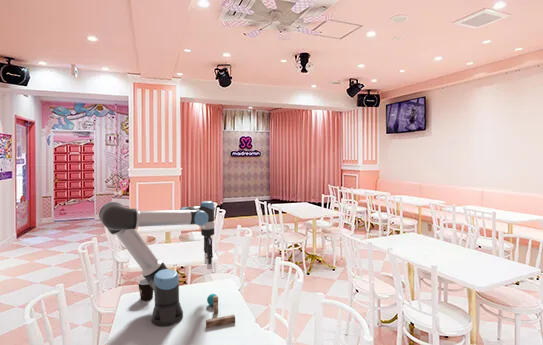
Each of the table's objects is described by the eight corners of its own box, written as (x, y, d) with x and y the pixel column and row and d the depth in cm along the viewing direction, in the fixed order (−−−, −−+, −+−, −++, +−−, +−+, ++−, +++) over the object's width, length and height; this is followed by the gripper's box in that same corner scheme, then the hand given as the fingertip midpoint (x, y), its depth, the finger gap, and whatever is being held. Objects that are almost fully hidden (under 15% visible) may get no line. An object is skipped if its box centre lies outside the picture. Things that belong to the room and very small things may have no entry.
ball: (208, 308, 171) (208, 297, 171) (206, 303, 177) (206, 292, 177) (219, 306, 173) (219, 295, 173) (217, 301, 179) (217, 291, 179)
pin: (214, 314, 165) (213, 298, 165) (213, 312, 167) (212, 296, 167) (218, 313, 166) (218, 297, 166) (217, 311, 168) (217, 295, 168)
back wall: (206, 328, 152) (206, 322, 152) (205, 325, 154) (205, 319, 154) (235, 322, 157) (235, 316, 157) (234, 320, 159) (234, 314, 159)
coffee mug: (138, 296, 186) (138, 279, 185) (154, 294, 189) (154, 277, 188) (138, 305, 175) (137, 287, 174) (155, 302, 178) (154, 285, 177)
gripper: (217, 231, 176) (218, 271, 178) (211, 223, 196) (211, 259, 197) (204, 232, 174) (204, 273, 175) (198, 224, 193) (199, 261, 195)
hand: (208, 266), depth 186 cm, fingers open, 8 cm apart
